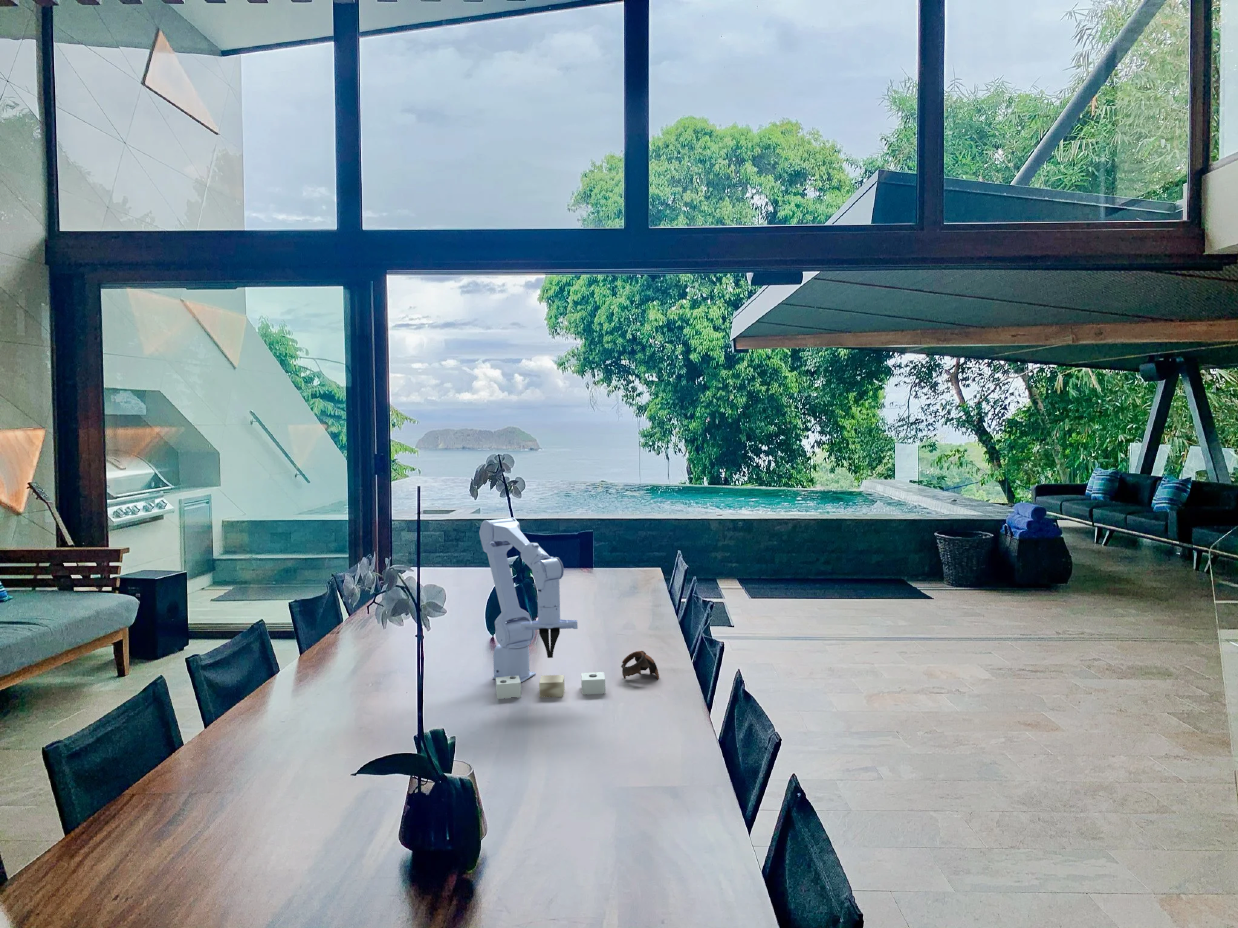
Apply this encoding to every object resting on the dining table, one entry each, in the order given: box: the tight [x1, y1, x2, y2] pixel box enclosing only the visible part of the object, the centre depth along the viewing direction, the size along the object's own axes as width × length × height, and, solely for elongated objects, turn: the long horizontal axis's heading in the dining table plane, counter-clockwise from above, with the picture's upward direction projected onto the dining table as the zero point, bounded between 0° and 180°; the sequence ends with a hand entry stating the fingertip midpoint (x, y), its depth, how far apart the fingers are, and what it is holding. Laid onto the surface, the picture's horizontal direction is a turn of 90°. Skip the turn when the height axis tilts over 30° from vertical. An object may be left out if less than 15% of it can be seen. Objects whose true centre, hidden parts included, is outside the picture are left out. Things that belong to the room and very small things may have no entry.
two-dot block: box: [495, 675, 522, 700], centre depth 221 cm, size 6×6×4 cm
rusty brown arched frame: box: [620, 650, 660, 680], centre depth 233 cm, size 12×10×8 cm
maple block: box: [538, 674, 566, 698], centre depth 221 cm, size 6×6×4 cm
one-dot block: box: [580, 671, 606, 695], centre depth 222 cm, size 6×6×4 cm
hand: (550, 656), depth 221 cm, fingers closed
